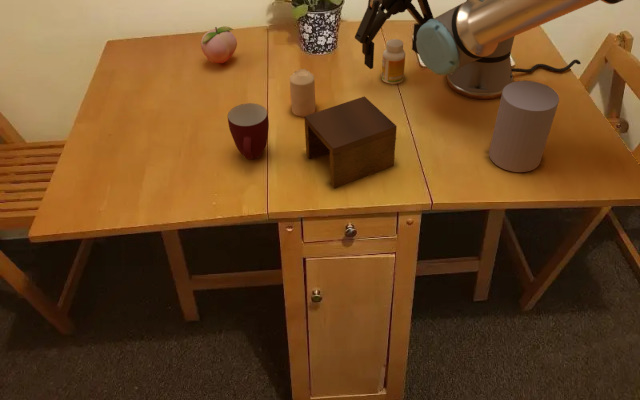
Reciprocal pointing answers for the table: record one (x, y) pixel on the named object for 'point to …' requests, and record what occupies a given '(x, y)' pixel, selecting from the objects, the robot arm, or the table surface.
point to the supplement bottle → (393, 62)
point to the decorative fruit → (219, 44)
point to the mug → (249, 129)
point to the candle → (302, 92)
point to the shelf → (351, 139)
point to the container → (523, 125)
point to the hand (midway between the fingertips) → (392, 58)
